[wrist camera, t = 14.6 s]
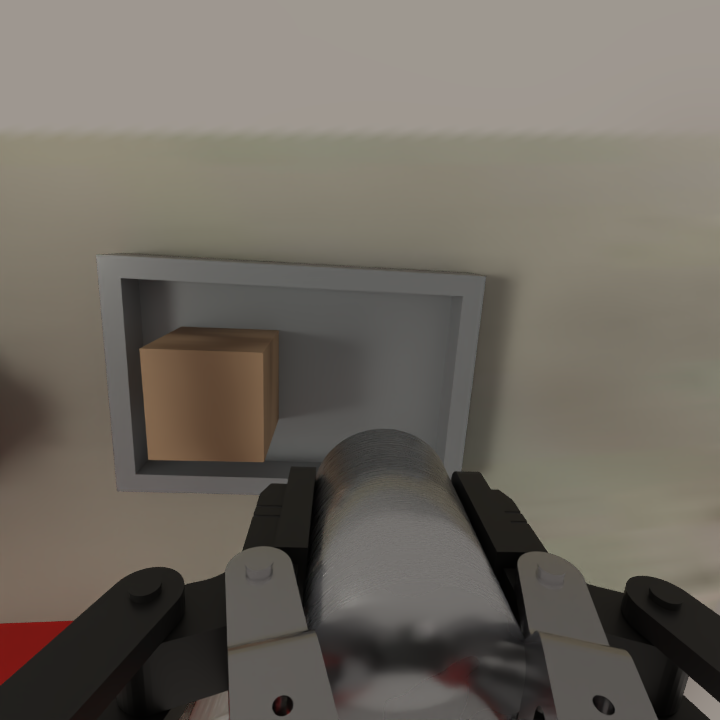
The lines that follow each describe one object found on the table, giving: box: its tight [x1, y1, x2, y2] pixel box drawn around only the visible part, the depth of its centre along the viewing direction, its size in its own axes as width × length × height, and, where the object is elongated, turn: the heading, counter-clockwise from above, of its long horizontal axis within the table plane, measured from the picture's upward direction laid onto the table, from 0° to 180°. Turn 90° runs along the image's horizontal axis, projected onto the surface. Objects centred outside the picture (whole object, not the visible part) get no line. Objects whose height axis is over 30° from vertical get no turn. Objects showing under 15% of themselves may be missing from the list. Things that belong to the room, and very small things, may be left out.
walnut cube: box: [140, 327, 279, 462], centre depth 21 cm, size 5×5×5 cm
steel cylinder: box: [302, 429, 526, 720], centre depth 10 cm, size 4×4×6 cm
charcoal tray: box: [96, 253, 486, 495], centre depth 23 cm, size 18×12×2 cm, turn 87°
